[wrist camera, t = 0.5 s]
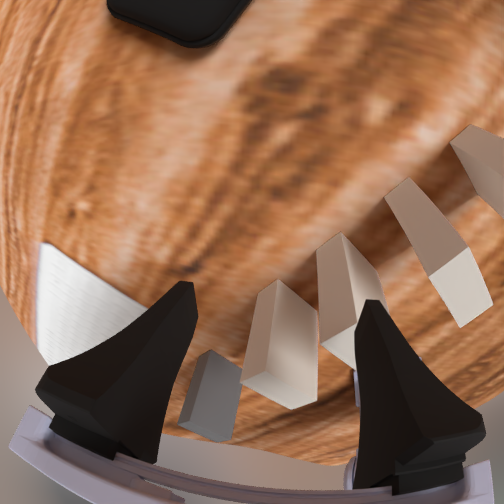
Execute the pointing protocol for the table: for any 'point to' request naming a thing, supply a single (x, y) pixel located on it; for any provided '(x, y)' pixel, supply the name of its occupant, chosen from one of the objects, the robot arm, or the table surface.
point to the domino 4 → (440, 252)
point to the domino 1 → (212, 398)
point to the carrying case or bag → (181, 18)
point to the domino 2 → (282, 348)
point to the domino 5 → (483, 163)
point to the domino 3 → (343, 294)
